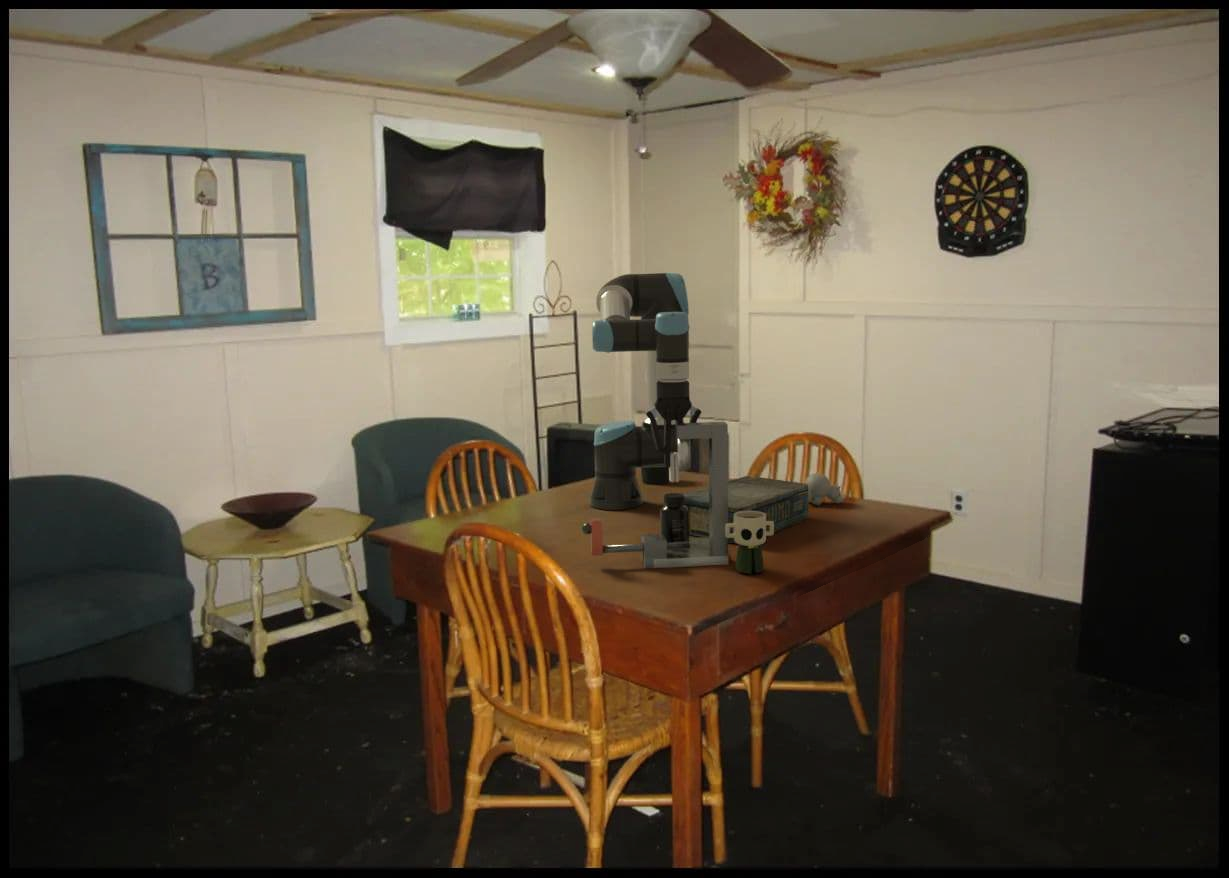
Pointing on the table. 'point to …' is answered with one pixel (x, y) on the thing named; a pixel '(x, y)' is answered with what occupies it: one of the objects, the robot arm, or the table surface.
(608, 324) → the robot arm
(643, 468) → the pen holder
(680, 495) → the supplement bottle
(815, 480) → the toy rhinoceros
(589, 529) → the lever
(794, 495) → the metal box
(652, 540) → the press
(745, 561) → the character mug
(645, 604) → the table surface
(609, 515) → the table surface
